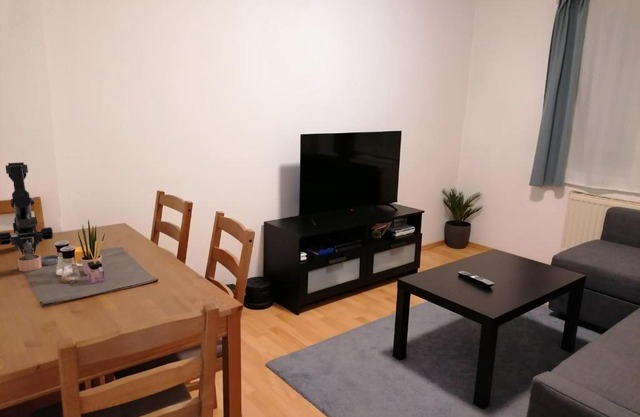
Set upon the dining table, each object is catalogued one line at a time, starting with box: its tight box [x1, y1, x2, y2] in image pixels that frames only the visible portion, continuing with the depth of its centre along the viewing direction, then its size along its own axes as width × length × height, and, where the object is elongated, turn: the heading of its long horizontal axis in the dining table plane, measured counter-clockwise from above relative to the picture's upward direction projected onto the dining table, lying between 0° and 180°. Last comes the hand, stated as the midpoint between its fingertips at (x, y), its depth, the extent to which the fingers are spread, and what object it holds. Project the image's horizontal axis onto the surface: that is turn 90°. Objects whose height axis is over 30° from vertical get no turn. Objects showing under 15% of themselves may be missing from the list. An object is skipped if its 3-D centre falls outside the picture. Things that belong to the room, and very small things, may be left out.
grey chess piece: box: [23, 240, 36, 260], centre depth 186 cm, size 6×6×12 cm
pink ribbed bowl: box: [17, 254, 43, 272], centre depth 187 cm, size 8×8×4 cm
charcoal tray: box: [41, 254, 58, 266], centre depth 195 cm, size 8×8×2 cm
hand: (28, 253), depth 185 cm, fingers closed on grey chess piece, 4 cm apart
